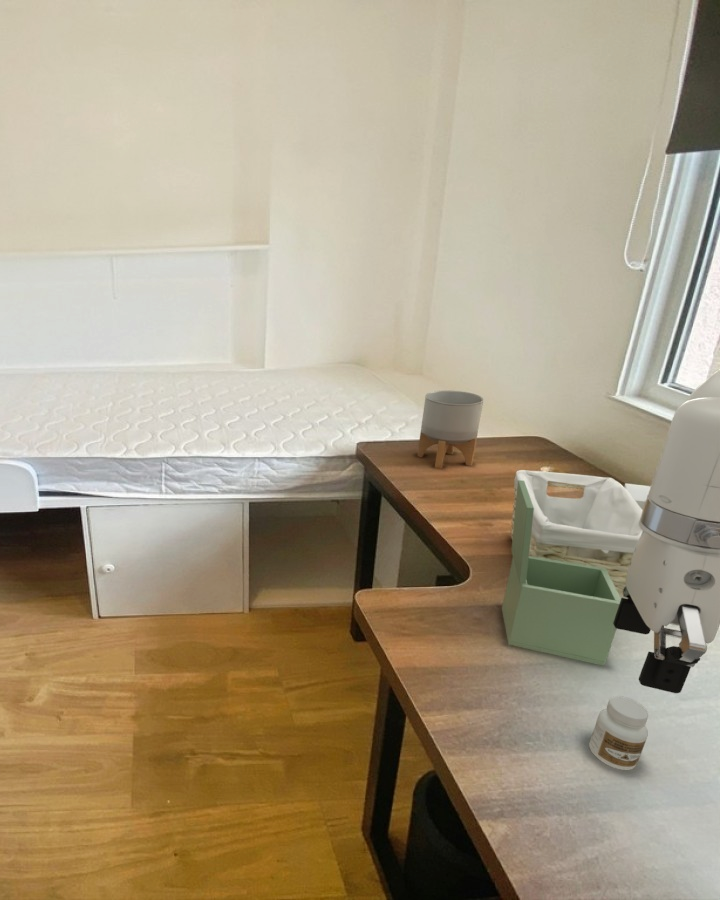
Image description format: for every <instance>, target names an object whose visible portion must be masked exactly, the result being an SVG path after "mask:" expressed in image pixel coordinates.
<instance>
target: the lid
mask: <svg viewBox="0 0 720 900" xmlns="http://www.w3.org/2000/svg"><path fill="white" fill-rule="evenodd" d="M533 512H534V507H533V504H532V501H531V499H530V496H529V493H528V490H527V487H526V484H525V482H524V481H521V480H518V486H517V497H516V507H515V518H514V529H513V539H512V538H511V540H512V541H511V554H512V560H513V559H514V563H515V567H516V571H517V575H518V580H519V583H523V584H526V578H527V568H528V559H529V550H530V540H531V531H532V521H533Z"/></svg>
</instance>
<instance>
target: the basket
mask: <svg viewBox="0 0 720 900" xmlns="http://www.w3.org/2000/svg"><path fill="white" fill-rule="evenodd" d="M518 480H521V481H524V482H525V484H526V487H527V490H528V493H529V496H530V499H531V501H532V504H533V507H534V512H533V521H532V531H531V540H530V550H529V556H533V557H539V558H546V559H552V560H558V561H564V562H570V563H577V564H583V565H589V566H595V567H601V568H606V569H607V571H608V574H609V576H610V578H611V580H612V582H613V584H614V586H615V588H616V590H617V592H618V594H619V596H620V598H625V599H628V598H626V597H623V589H624V587H626V576H627V572H628V568H629V565H630V562H631V559H632V556H633V553H634V551H635V548H636V546H637V543H638V541H639V538H640V536H641V534H642V532H643V530H642V529H641V528H640V526H639V520H640V517H641V514H642V511H643V510H642V509H641V508H640V506H639V505H638V504H637V502H636V501H635V499H634V498H633V497H632V495H631V494H630V493H629V492H628V491H627V489H626V488H624V486H623V485H622V484H621V483H620V482H619V481H617V480H615V479H614V477H613V478H612V477H604V476H595V475H588V474H587V475H586V474H576V473H569V472H568V473H566V472H555V471H554V472H553V471H543V470H542V471H541V470H526V469H519V470H517V471H516V472H515V477H514V479H513V484H514V486H513V490H514V491H513V495H514V499H513V505H512V514H511V525H510V528H511V529H510V537H511V540H512V539H513V529H514V518H515V507H516V497H517V486H518ZM549 487H555V488H558V487H560V488H568V489H577V490H579V489H580V490H581V489H582V490H583V492H582V497H581V498H574V497H572V498H571V497H560V496H552V495H551V496H550V495H548V488H549Z"/></svg>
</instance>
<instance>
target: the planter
mask: <svg viewBox="0 0 720 900" xmlns="http://www.w3.org/2000/svg"><path fill="white" fill-rule="evenodd" d="M483 404H484V397H483V396H481V395H478V394H476V393H472V392H467V391H462V390H434V391H430V392H427V393H426V394H425V397H424V403H423V412H422V419H421V426H420V434H419V442H418V448H417V456H416V457H419V458H423V457H424V456H425V453H426V451H427V449H428V448H430V447H432V446H435V445H437V449H436V456H435V463H434V468H435V469H438V470H439V469H440V470H441V469H443V465H444V460H445V456H446V454H448V455H453V454H454V450H455V448H456V449H457V450H459V452H460V453H461V454H462V455H463V457H464V460H465V466H468V467H472V465H473V462H474V456H475V452H476V446H477V440H478V433H479V428H480V422H481V417H482V410H483V406H484V405H483Z"/></svg>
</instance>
